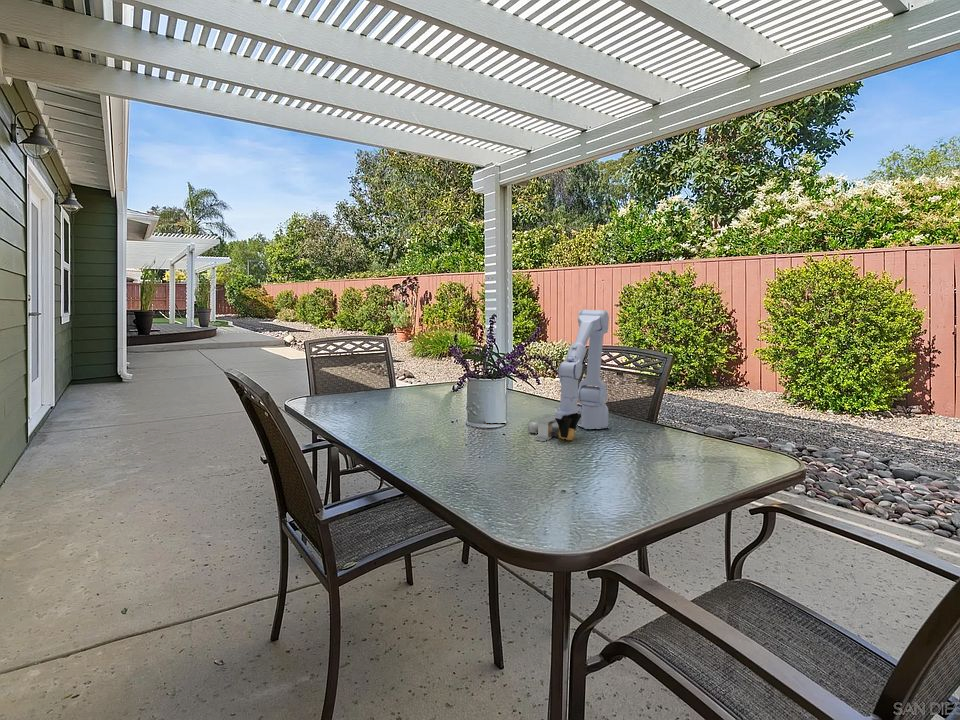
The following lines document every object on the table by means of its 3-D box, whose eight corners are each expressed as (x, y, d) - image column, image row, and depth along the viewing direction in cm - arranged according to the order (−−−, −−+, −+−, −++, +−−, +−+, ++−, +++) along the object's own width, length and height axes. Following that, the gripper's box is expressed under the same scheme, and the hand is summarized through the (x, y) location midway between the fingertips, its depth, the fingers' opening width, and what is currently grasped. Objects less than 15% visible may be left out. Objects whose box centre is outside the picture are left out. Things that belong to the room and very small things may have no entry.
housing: (533, 440, 187) (534, 421, 186) (557, 431, 199) (557, 414, 199) (544, 442, 185) (544, 423, 184) (566, 433, 197) (567, 415, 196)
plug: (527, 433, 195) (527, 422, 195) (533, 431, 199) (534, 420, 198) (568, 442, 185) (569, 429, 185) (574, 439, 189) (575, 427, 188)
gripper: (568, 392, 194) (567, 429, 196) (547, 398, 183) (546, 437, 185) (587, 394, 190) (585, 433, 192) (566, 400, 179) (565, 441, 180)
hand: (567, 435), depth 188 cm, fingers closed on plug, 4 cm apart
